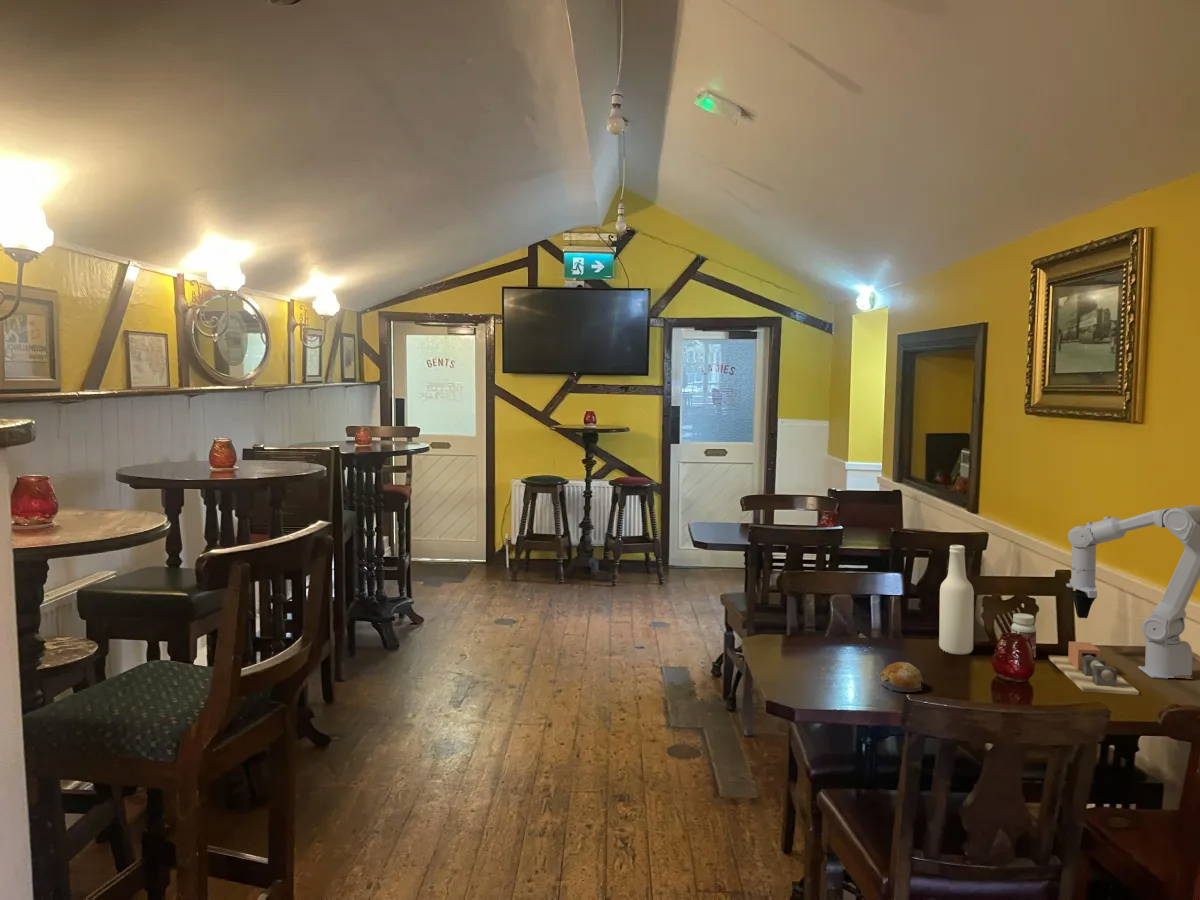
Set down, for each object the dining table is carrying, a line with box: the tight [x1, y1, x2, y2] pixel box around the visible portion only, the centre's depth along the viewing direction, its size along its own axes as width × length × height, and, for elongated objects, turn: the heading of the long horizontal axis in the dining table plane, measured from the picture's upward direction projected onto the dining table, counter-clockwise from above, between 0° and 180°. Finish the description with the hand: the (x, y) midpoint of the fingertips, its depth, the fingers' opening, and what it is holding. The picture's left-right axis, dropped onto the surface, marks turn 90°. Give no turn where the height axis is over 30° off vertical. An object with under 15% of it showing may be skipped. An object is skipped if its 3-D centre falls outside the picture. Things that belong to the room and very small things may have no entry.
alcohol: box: [938, 544, 975, 656], centre depth 227 cm, size 9×9×30 cm
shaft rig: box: [1047, 653, 1140, 696], centre depth 206 cm, size 26×12×5 cm, turn 168°
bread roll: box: [879, 661, 924, 688], centre depth 200 cm, size 10×10×8 cm
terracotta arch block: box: [1067, 641, 1102, 669], centre depth 210 cm, size 7×5×5 cm
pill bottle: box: [1010, 612, 1037, 658], centre depth 222 cm, size 6×6×11 cm
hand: (1082, 617), depth 222 cm, fingers closed
